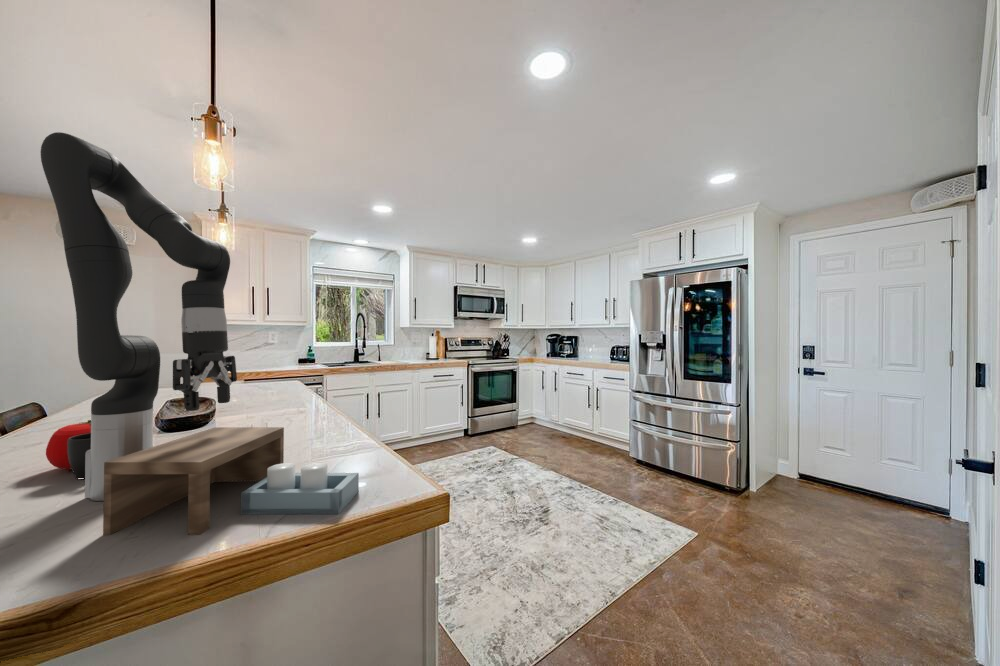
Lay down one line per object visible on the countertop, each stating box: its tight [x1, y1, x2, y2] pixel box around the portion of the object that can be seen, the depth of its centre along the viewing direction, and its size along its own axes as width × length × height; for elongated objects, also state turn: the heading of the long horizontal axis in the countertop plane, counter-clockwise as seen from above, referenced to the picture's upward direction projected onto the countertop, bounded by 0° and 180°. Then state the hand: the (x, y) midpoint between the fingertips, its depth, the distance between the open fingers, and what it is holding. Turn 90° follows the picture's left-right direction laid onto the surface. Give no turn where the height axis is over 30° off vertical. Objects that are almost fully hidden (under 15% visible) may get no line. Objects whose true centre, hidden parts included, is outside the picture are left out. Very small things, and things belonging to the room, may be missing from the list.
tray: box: [240, 462, 360, 515], centre depth 73 cm, size 18×10×7 cm, turn 91°
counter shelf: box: [102, 426, 285, 536], centre depth 73 cm, size 16×24×12 cm, turn 1°
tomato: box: [45, 419, 91, 470], centre depth 94 cm, size 13×14×12 cm
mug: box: [67, 433, 91, 479], centre depth 87 cm, size 8×12×10 cm
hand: (209, 406), depth 78 cm, fingers open, 8 cm apart
